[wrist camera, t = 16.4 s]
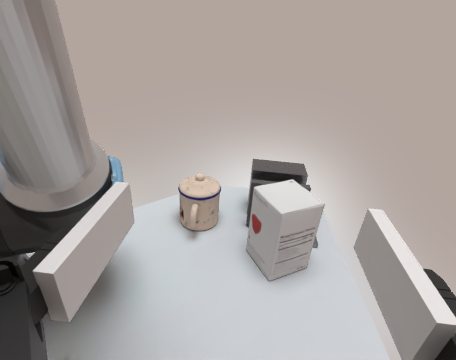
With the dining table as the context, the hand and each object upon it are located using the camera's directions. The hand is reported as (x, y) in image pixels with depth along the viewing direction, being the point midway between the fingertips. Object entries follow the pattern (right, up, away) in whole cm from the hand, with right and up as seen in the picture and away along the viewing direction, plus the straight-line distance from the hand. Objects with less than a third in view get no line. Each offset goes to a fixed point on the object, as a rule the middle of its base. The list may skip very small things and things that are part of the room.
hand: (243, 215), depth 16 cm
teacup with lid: (-8, -8, +47) cm, 49 cm away
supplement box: (+8, -14, +39) cm, 42 cm away
